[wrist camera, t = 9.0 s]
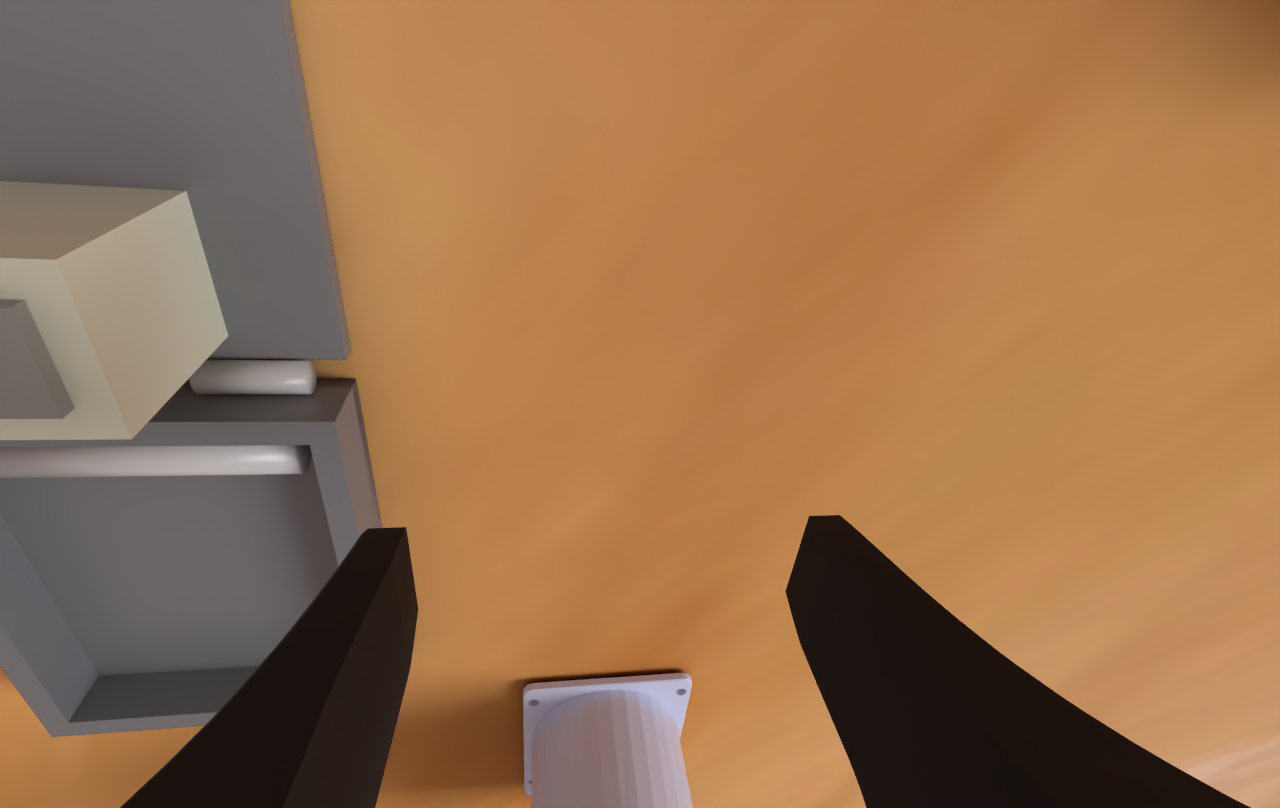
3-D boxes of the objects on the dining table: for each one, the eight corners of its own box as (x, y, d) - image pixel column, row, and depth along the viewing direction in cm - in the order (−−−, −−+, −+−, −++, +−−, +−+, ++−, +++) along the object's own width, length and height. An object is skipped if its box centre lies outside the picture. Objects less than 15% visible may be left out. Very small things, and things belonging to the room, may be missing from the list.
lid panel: (355, 379, 19) (345, 400, 18) (-97, 374, 17) (-139, 399, 16) (279, -56, 14) (256, -61, 13) (-413, -135, 12) (-511, -149, 11)
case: (405, 659, 27) (394, 711, 25) (91, 678, 25) (52, 737, 23) (355, 379, 19) (334, 421, 17) (-97, 374, 17) (-180, 422, 15)
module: (228, 336, 18) (121, 450, 13) (67, 333, 17) (-104, 452, 12) (186, 190, 15) (41, 268, 11) (0, 180, 15) (-236, 258, 10)
